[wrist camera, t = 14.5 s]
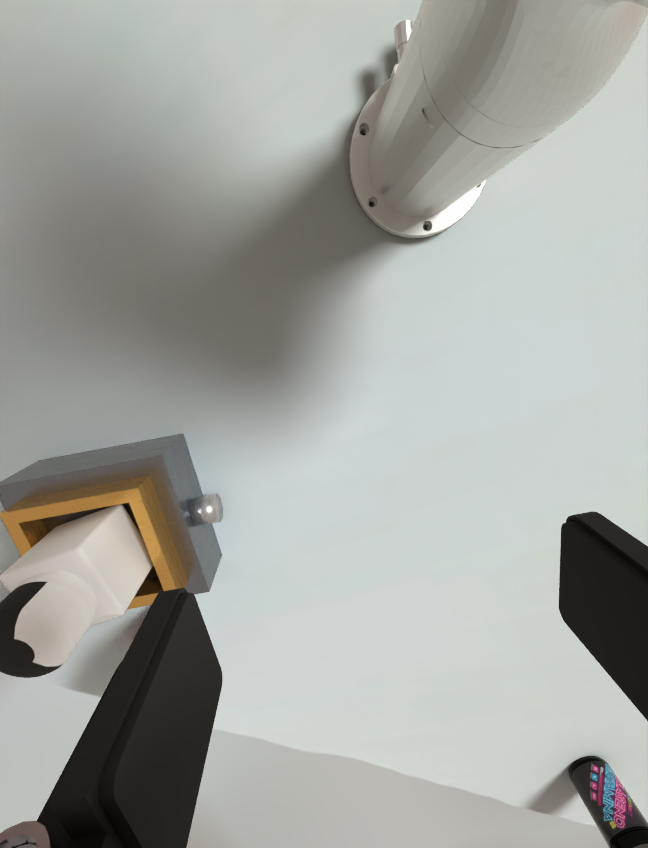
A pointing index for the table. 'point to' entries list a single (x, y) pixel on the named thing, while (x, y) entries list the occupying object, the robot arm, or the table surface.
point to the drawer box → (140, 495)
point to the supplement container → (609, 804)
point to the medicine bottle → (69, 589)
